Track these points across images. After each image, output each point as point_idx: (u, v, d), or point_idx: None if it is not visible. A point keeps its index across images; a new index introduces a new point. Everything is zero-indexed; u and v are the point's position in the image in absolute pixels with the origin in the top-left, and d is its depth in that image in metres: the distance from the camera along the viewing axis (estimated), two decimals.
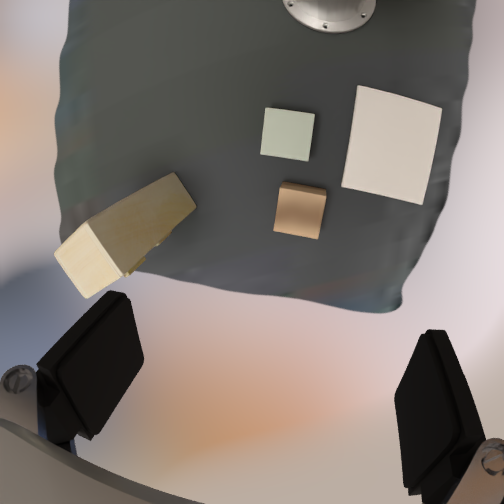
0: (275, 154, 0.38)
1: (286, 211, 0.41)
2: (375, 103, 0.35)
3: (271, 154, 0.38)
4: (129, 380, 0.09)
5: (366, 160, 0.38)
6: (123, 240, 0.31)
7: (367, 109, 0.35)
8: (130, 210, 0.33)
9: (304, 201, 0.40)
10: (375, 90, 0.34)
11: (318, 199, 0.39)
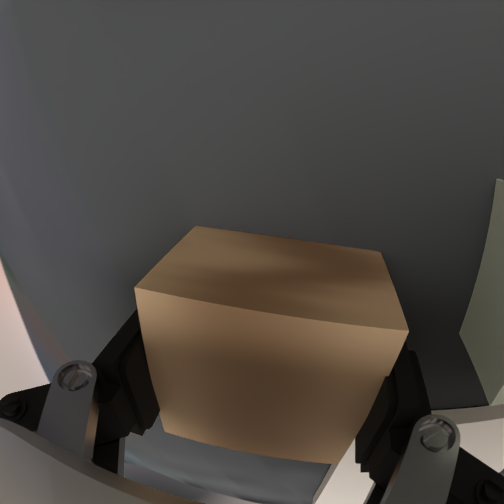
0: None
1: (261, 357, 0.07)
2: None
3: None
4: None
5: None
6: None
7: None
8: None
9: (317, 419, 0.07)
10: None
11: (327, 450, 0.08)
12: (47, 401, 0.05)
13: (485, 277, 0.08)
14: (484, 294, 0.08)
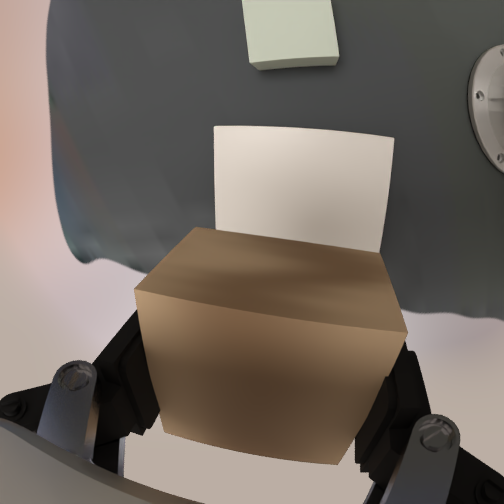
0: (246, 10, 0.17)
1: (261, 358, 0.07)
2: (367, 167, 0.22)
3: (244, 5, 0.17)
4: None
5: (266, 160, 0.24)
6: None
7: (355, 153, 0.22)
8: None
9: (317, 420, 0.07)
10: (389, 167, 0.22)
11: (326, 451, 0.08)
12: (47, 401, 0.05)
13: None
14: None
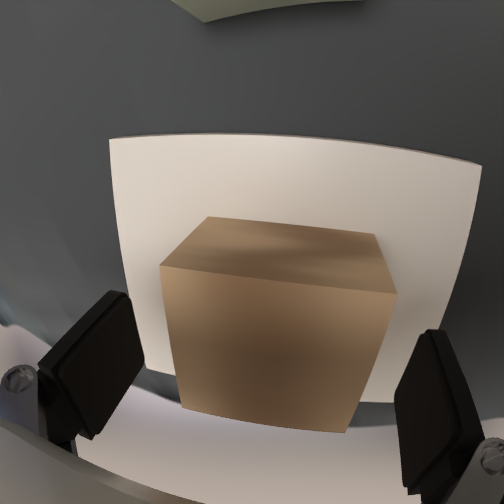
0: None
1: (271, 322, 0.08)
2: (425, 227, 0.10)
3: None
4: (130, 380, 0.09)
5: (210, 207, 0.11)
6: None
7: (405, 197, 0.10)
8: None
9: (323, 384, 0.09)
10: (466, 227, 0.10)
11: (333, 418, 0.09)
12: None
13: None
14: None
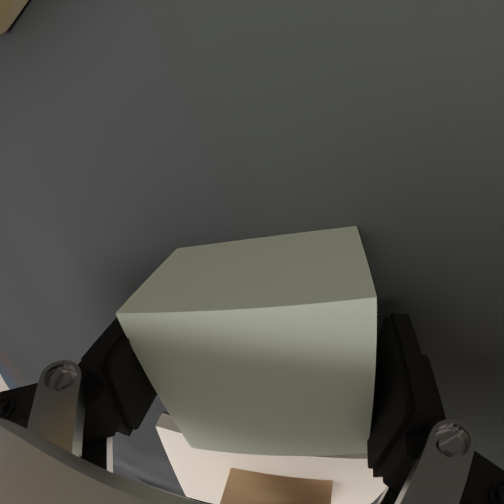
0: (149, 369, 0.08)
1: None
2: (366, 477, 0.14)
3: (140, 356, 0.08)
4: None
5: (232, 465, 0.15)
6: None
7: (354, 471, 0.13)
8: None
9: None
10: None
11: None
12: (34, 401, 0.05)
13: None
14: None
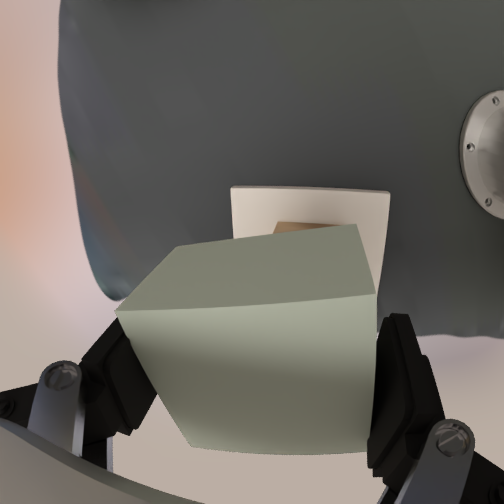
0: (149, 367, 0.08)
1: None
2: (366, 221, 0.26)
3: (139, 354, 0.08)
4: None
5: (278, 217, 0.28)
6: None
7: (356, 209, 0.26)
8: None
9: None
10: (386, 219, 0.26)
11: None
12: (35, 401, 0.05)
13: None
14: None
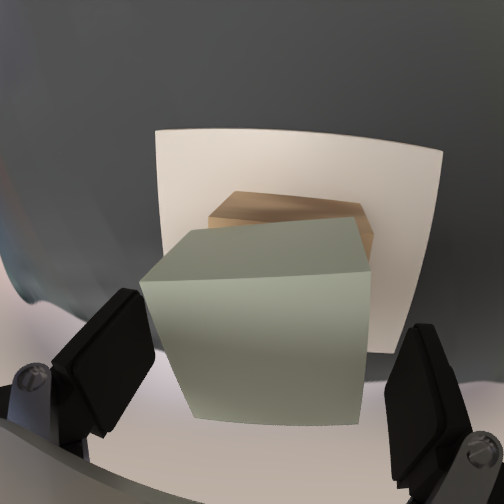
0: (165, 336, 0.09)
1: None
2: (400, 198, 0.14)
3: (158, 322, 0.09)
4: (141, 377, 0.10)
5: (236, 184, 0.15)
6: None
7: (382, 175, 0.13)
8: None
9: None
10: (433, 198, 0.13)
11: None
12: (10, 404, 0.05)
13: None
14: None
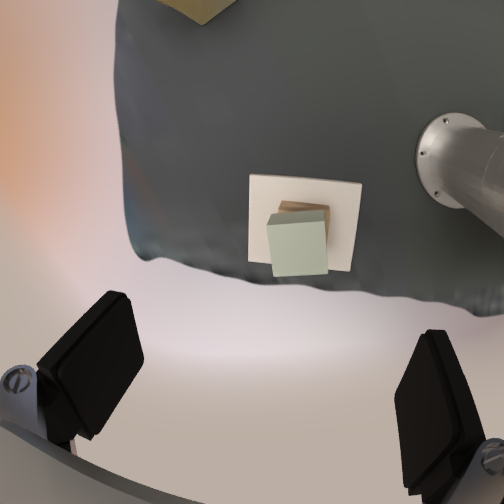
0: (270, 242, 0.33)
1: None
2: (344, 203, 0.38)
3: (269, 237, 0.33)
4: (129, 380, 0.09)
5: (282, 197, 0.39)
6: None
7: (337, 194, 0.38)
8: None
9: None
10: (358, 202, 0.37)
11: None
12: None
13: None
14: None
